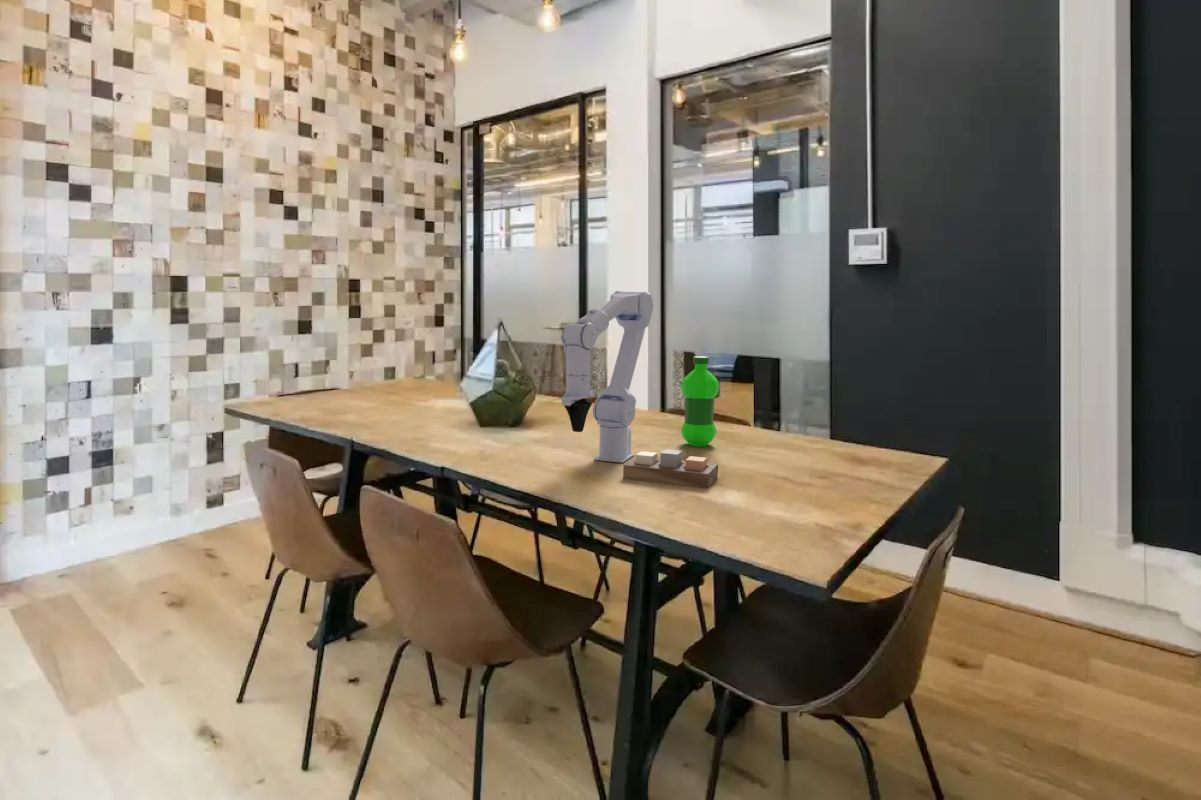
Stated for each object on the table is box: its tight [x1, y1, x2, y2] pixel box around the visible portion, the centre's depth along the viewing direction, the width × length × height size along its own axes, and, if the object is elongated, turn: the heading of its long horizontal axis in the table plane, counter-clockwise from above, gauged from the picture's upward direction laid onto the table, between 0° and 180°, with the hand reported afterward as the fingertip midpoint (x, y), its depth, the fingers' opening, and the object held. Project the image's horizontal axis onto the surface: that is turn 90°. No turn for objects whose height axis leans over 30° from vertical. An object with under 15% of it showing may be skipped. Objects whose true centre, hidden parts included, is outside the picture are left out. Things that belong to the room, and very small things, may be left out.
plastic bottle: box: [680, 355, 720, 447], centre depth 201 cm, size 10×10×25 cm
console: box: [622, 456, 719, 489], centre depth 167 cm, size 10×20×3 cm, turn 68°
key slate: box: [659, 449, 683, 468], centre depth 166 cm, size 4×4×4 cm
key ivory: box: [635, 450, 658, 465], centre depth 168 cm, size 4×4×4 cm
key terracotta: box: [685, 455, 708, 471], centre depth 164 cm, size 4×4×4 cm
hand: (577, 431), depth 170 cm, fingers closed
